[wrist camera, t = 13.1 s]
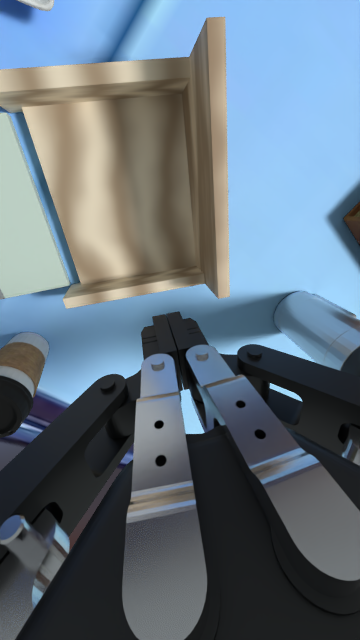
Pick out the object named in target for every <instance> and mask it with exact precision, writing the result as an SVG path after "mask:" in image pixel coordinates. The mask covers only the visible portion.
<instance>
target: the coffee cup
mask: <svg viewBox="0 0 360 640" xmlns="http://www.w3.org/2000/svg"><path fill="white" fill-rule="evenodd" d="M48 352H49V345H48V342H47V341H46V340H45V338H43V337H42V336H40V335H39V334H36V333H32V332H23V333H19V334H17V335H16V336H14V337H13V338H12V339H11V340H10V341H9V342H8V343H7V344H6V345H5V346H4V347H3V348H2V349H0V438H1V437H5V436H9V435H12V434H13V433H15V432H16V430H17V429H18V428H19V427H20V426H21V424H22V423H23V421H24V420H25V418H26V417H27V416H28V415H29V413H30V411H31V409H32V406H33V397H34V396H35V393H36V390H37V387H38V384H39V380H40V377H41V374H42V371H43V368H44V364H45V361H46V358H47V355H48Z"/></svg>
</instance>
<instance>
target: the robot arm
mask: <svg viewBox="0 0 360 640" xmlns="http://www.w3.org/2000/svg"><path fill="white" fill-rule="evenodd" d="M152 318H153V323H154V325H153V326H148V327H144V329H143V331H142V332H141V337H142V347H143V356H144V361H143V363H142V366H141V370H140V371H139V372H138V373H136V374H135V375H133V376H131V377H129V378H127V379H125V378H124V377H123V376H121V375H118V374H110V375H106V376H104V377H102V378H100V379H98V380H97V381H96V382H94V383H93V384H92V385H91V386H90V387H89V388H88V389H87V390H86V391H85V392H84V393H83V394H82V395H81V396H80V397H79V398H77V399H76V400H75V401H74V402H73V403H72V404H71V405H70V406H69V407H68V408H67V409H66V410H65V411H64V412H63V413H62V414H60V415H59V416H58V417H57V418H56V419H55V420H54V421H53V422H52V423H51V424H50V425H49V426H48V427H47V428H46V429H45V430H44V431H42V432H41V433H40V434H39V435H38V436H37V437H36V438H35V439H34V440H33V441H32V442H31V443H30V444H29V445H28V446H27V447H25V448H24V449H23V450H22V451H21V452H20V453H19V454H18V455H17V456H16V457H15V458H14V459H13V460H12V461H11V462H10V463H8V464H7V465H6V466H5V467H4V468H3V469H2V470H1V471H0V640H360V320H358V319H357V318H356V315H355V314H353V313H351V312H349V311H347V310H345V309H343V308H342V307H340V306H338V305H336V304H334V303H332V302H330V301H328V300H326V299H324V298H322V297H320V296H319V295H312V294H310V293H308V292H305V291H298V292H294V293H292V294H290V295H288V296H287V297H285V298H284V299H283V300H282V301H281V302H280V303H279V305H278V306H277V308H276V310H275V313H274V323H275V325H276V327H277V328H278V329H279V330H280V331H281V332H283V333H284V334H285V335H286V336H287V337H288V338H289V339H290V340H291V341H293V342H294V343H295V344H296V345H297V346H298V347H299V348H300V349H302V350H303V351H304V352H305V353H306V354H307V355H308V356H310V357H311V358H312V359H313V360H314V361H315V362H316V363H315V362H311V361H308V360H305V359H302V358H299V357H296V356H293V355H289V354H286V353H283V352H280V351H277V350H274V349H271V348H267V347H264V346H261V345H256V344H250V345H245V346H243V347H241V348H240V349H239V350H238V353H237V355H225V354H219V353H218V351H217V350H216V349H215V348H214V347H212V346H209V344H208V343H207V341H206V339H205V337H204V335H203V334H202V332H201V330H200V328H199V326H198V324H197V323H196V321H194V320H192V319H191V318H188V319H182V317H181V315H180V312H174V313H168V314H166V315H165V314H164V315H158V316H153V317H152ZM270 383H272V384H274V385H277V386H279V387H282V388H284V389H287V390H289V391H292V392H294V393H296V394H297V395H299V396H300V398H301V399H302V401H303V402H301V401H299V400H296V399H294V398H291V397H289V396H287V395H284V394H282V393H280V392H277V391H275V390H273V389H270V388H269V387H270ZM182 384H183V387H184V390H186V389H190V392H191V399H192V403H193V406H194V408H195V411H196V413H197V415H198V418H199V420H200V423H201V425H202V427H203V430H204V432H205V433H203V434H186V433H185V427H184V421H183V415H182V408H181V393H180V391H182V390H183V388H182ZM103 426H104V427H103ZM102 427H103V428H102ZM97 433H98V434H97ZM92 439H93V440H92ZM91 440H92V441H91ZM133 442H134V454H133V460H132V461H130V462H129V463H128V464H127V465H126V466H125V467H124V468H123V469H122V471H121V472H120V473H119V475H118V476H117V477H116V479H115V481H114V482H113V483H112V485H111V487H110V488H109V490H108V492H107V493H106V495H105V496H104V498H103V499H102V501H101V503H100V504H99V506H98V507H97V509H96V511H95V512H94V514H93V516H92V517H91V519H90V520H89V522H88V524H87V525H86V527H85V528H84V530H83V531H82V533H81V535H80V536H79V538H78V539H77V541H76V543H75V544H74V546H73V547H72V549H71V551H70V552H69V536H70V534H71V533H72V531H73V530H74V528H75V527H76V525H77V524H78V523H79V521H80V520H81V518H82V517H83V515H84V514H85V512H86V511H87V510H88V508H89V506H90V505H91V503H92V502H93V501H94V499H95V498H96V496H97V495H98V493H99V492H100V491H101V489H102V488H103V486H104V485H105V483H106V482H107V480H108V479H109V477H110V476H111V474H112V473H113V472H114V470H115V469H116V467H117V466H118V464H119V463H120V461H121V460H122V458H123V457H124V456H125V454H126V453H127V451H128V450H129V448H130V447H131V445H132V444H133ZM68 553H69V554H68Z"/></svg>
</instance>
